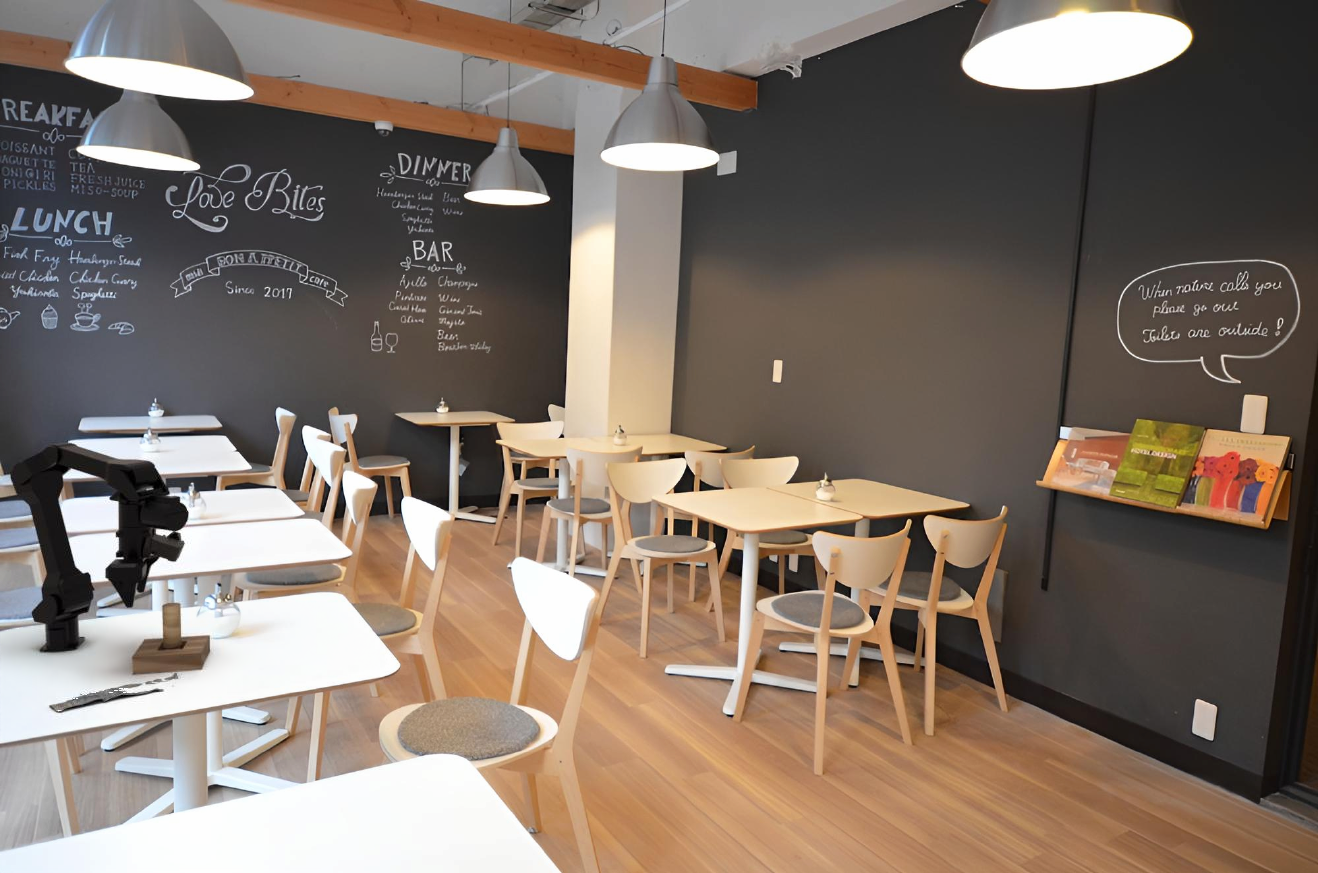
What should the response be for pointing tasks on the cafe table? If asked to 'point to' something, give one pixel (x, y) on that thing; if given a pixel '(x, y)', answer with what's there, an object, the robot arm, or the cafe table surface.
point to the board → (171, 655)
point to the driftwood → (106, 694)
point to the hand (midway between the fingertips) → (135, 599)
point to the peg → (171, 626)
